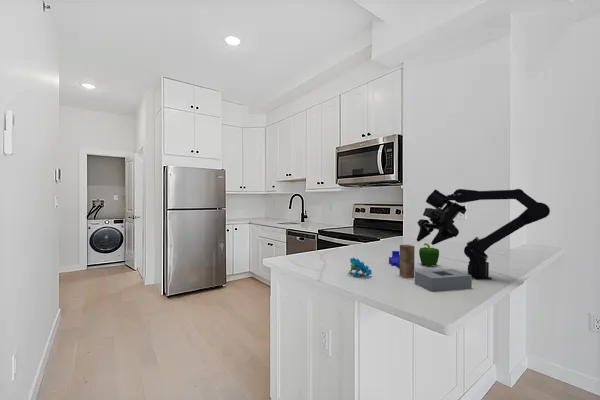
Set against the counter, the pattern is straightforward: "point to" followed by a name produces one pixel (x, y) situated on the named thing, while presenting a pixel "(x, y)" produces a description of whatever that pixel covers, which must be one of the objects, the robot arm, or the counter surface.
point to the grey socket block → (443, 280)
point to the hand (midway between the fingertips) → (424, 242)
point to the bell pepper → (429, 255)
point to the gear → (359, 267)
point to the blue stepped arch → (395, 259)
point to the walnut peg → (407, 261)
